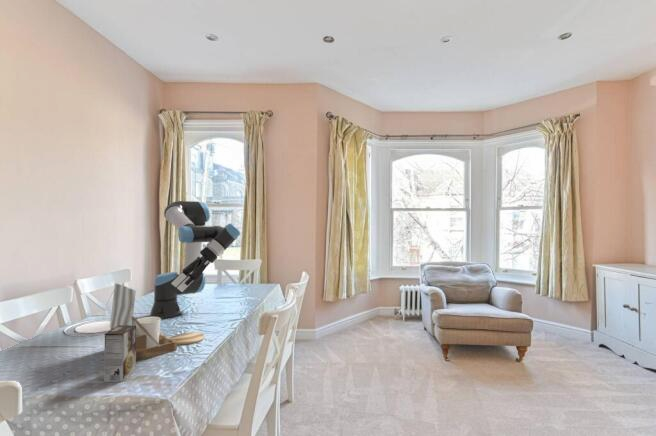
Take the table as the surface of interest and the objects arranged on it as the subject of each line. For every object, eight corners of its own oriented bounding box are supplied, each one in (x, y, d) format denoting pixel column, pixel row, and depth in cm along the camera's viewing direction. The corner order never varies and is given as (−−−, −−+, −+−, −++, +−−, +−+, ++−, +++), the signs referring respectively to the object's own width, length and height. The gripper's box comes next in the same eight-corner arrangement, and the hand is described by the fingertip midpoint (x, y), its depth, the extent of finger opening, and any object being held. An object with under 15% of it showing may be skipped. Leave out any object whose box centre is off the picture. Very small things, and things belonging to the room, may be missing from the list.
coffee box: (117, 370, 123) (118, 325, 123) (136, 370, 123) (137, 324, 124) (102, 382, 114) (103, 333, 114) (123, 382, 114) (124, 332, 114)
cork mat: (162, 339, 155) (162, 338, 155) (194, 331, 166) (194, 330, 166) (178, 347, 145) (178, 346, 145) (210, 339, 157) (210, 337, 157)
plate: (89, 340, 154) (89, 338, 154) (50, 331, 165) (50, 330, 165) (144, 323, 180) (144, 322, 180) (107, 317, 190) (107, 315, 190)
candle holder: (165, 346, 147) (166, 317, 147) (146, 354, 138) (147, 324, 138) (147, 343, 150) (148, 315, 151) (128, 351, 141) (128, 321, 141)
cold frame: (109, 349, 143) (110, 283, 143) (155, 338, 157) (156, 278, 157) (129, 363, 129) (130, 291, 129) (177, 350, 142) (178, 284, 143)
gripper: (226, 259, 150) (189, 298, 141) (210, 255, 171) (177, 288, 162) (213, 247, 147) (175, 286, 138) (199, 244, 168) (165, 278, 159)
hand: (176, 287), depth 150 cm, fingers open, 13 cm apart
